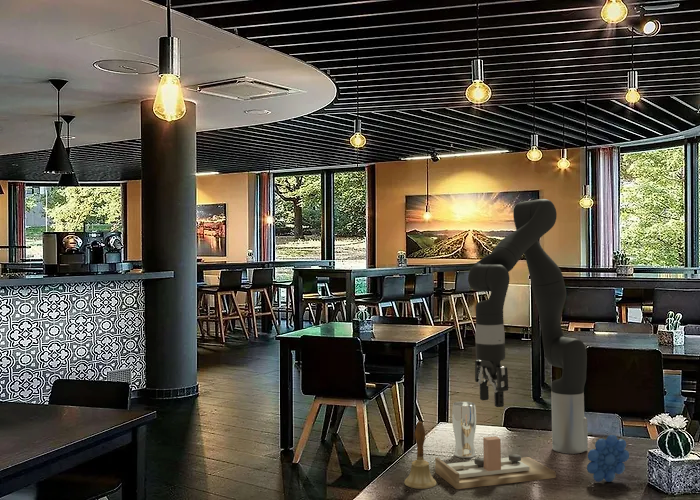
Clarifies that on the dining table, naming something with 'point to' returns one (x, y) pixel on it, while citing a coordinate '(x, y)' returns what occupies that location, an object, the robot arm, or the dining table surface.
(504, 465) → the panel
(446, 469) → the boss board
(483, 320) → the robot arm
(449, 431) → the dining table surface
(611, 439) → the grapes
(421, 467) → the hand bell
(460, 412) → the beer glass
